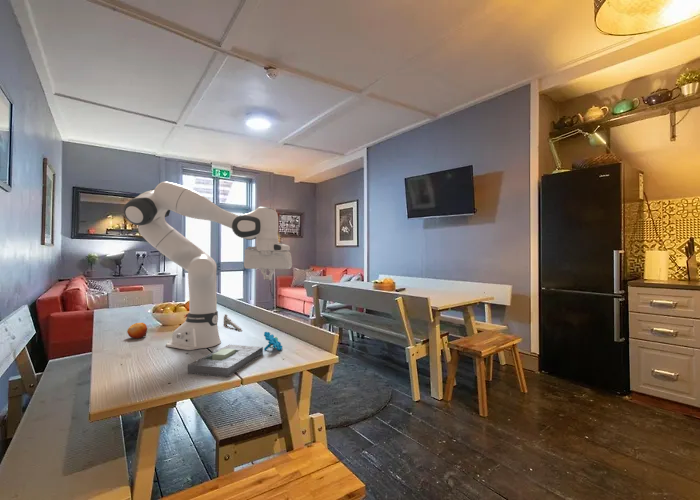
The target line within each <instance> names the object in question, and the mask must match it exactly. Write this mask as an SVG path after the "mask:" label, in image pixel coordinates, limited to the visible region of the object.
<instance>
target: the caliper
mask: <svg viewBox="0 0 700 500" xmlns="http://www.w3.org/2000/svg"><path fill="white" fill-rule="evenodd" d="M226 325H227V326H228V325H229V326H232V327H233V328H234V329H236V331H238V332H243V330H242V328H241V327H240V326H238V324H236V323H235V322H234V321H232V319H230V318H229V317H228V315H227V314H224V315H223V326H226Z"/></svg>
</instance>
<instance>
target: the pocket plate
mask: <svg viewBox="0 0 700 500" xmlns="http://www.w3.org/2000/svg"><path fill="white" fill-rule="evenodd" d="M224 348H225V349H236V353H234V354H232V355H231V356H229V357H227V358H225V359H223V360H221V361H219V360H212V354H214V353H216V352H218V351H220V350H222V349H224ZM263 355H264V347H263V346H255V345H252V346H251V345H240V344H239V345H237V344H228V345H226V346H224V347H222V348H219V349H217V350H215V351H213V352H211V353H208V354H207V355H204V356H203V357H201V358H198V359H197V360H195V361H193V362H191V363H188V365H187V367H188V368H187V374H188V375H189V374H191V375H197V376H198V375H200V376H201V375H202V376H209V377H211V376H212V377H221V378H229V377H231V376H232V375H234V374H235V373H237V372H238V371H240V370H242V369H243V368H244V367H246V366H247V365H249V364H250V363H252V362H254V361H256V360H257V359H259V358H260V357H262V356H263Z"/></svg>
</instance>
